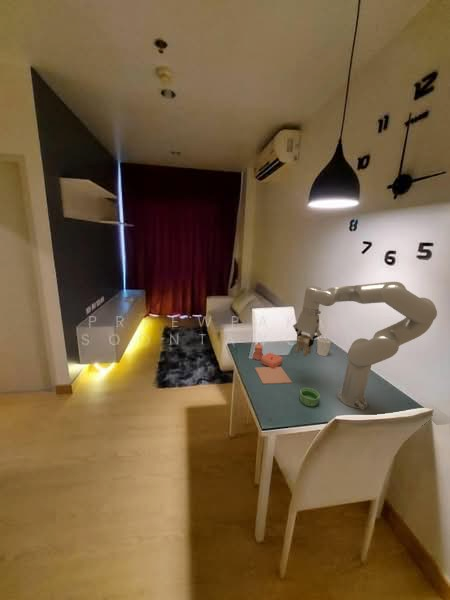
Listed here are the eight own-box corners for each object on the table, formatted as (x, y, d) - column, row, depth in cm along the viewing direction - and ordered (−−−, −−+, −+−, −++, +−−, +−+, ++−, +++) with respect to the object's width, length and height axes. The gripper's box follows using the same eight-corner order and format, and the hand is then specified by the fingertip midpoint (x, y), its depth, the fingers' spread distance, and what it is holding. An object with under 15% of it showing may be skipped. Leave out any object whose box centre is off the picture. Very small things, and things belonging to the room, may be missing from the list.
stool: (310, 353, 131) (313, 337, 129) (305, 356, 127) (308, 340, 125) (300, 349, 135) (303, 334, 133) (295, 352, 131) (297, 336, 129)
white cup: (322, 350, 174) (324, 337, 171) (331, 355, 166) (333, 342, 164) (313, 352, 171) (315, 338, 168) (321, 357, 164) (324, 343, 161)
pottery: (281, 363, 151) (283, 348, 149) (273, 368, 144) (274, 353, 142) (258, 354, 163) (259, 340, 161) (249, 358, 157) (250, 343, 154)
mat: (291, 383, 132) (291, 382, 132) (263, 384, 130) (263, 383, 129) (280, 367, 147) (280, 366, 147) (254, 368, 145) (254, 367, 145)
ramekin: (305, 408, 113) (306, 400, 112) (295, 396, 121) (296, 388, 120) (322, 406, 115) (323, 398, 114) (311, 394, 124) (313, 386, 122)
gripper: (330, 314, 122) (323, 347, 127) (298, 305, 134) (293, 336, 138) (323, 317, 117) (316, 351, 121) (291, 307, 128) (286, 339, 133)
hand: (304, 343), depth 130 cm, fingers closed on stool, 6 cm apart
